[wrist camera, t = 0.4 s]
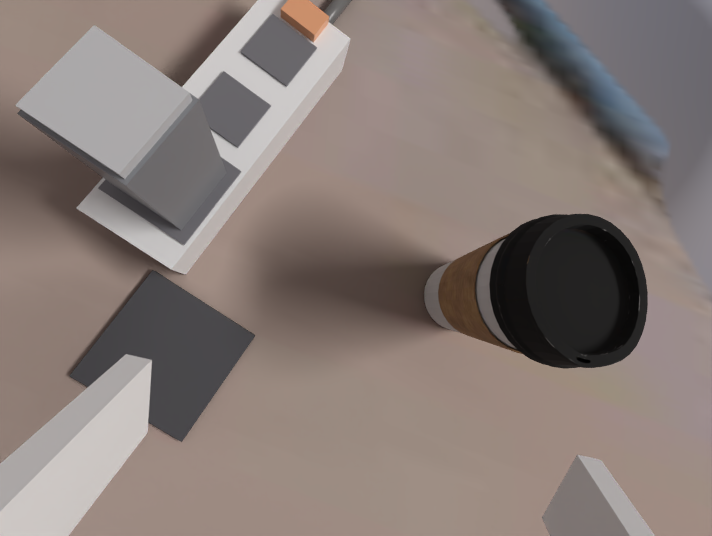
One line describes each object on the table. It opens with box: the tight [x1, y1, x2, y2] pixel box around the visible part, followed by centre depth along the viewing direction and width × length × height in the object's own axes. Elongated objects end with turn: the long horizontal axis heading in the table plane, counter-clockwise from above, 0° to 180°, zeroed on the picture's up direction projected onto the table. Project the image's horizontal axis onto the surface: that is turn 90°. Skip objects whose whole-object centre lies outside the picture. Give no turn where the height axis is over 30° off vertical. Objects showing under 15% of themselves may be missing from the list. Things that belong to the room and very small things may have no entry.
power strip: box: [77, 0, 352, 275], centre depth 29 cm, size 29×7×5 cm, turn 147°
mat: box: [70, 270, 255, 442], centre depth 28 cm, size 9×9×1 cm
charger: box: [15, 25, 227, 230], centre depth 20 cm, size 5×5×10 cm
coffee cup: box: [424, 214, 647, 368], centre depth 26 cm, size 8×8×15 cm
